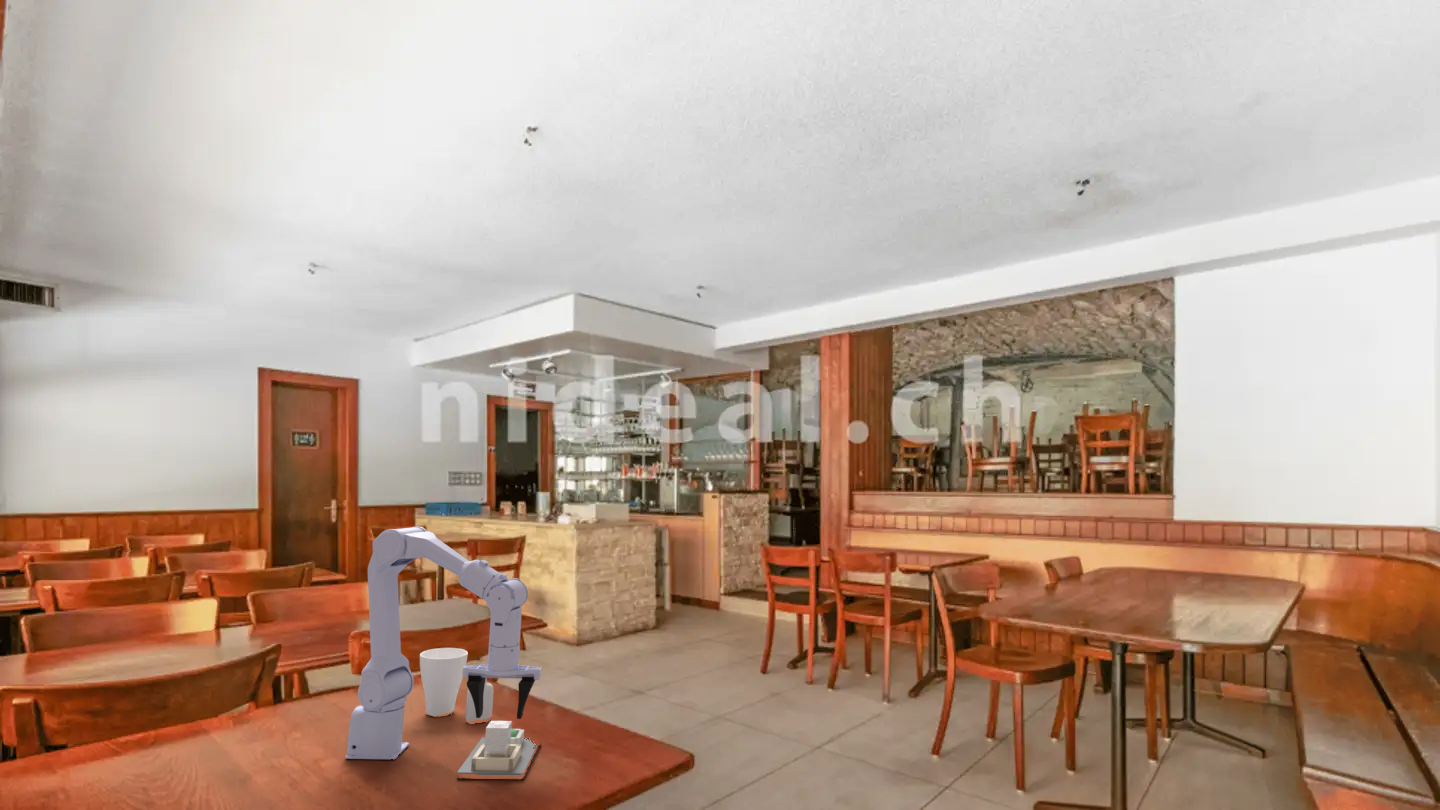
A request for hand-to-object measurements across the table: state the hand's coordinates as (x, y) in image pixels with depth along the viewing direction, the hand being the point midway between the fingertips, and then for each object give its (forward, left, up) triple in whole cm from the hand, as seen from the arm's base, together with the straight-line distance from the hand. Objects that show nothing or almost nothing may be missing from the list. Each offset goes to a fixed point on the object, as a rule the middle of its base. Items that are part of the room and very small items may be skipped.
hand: (499, 716), depth 143 cm
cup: (-20, +31, -10) cm, 38 cm away
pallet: (0, +4, -10) cm, 10 cm away
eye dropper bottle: (-10, +26, -10) cm, 30 cm away
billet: (0, 0, -8) cm, 8 cm away
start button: (0, +9, -8) cm, 12 cm away
